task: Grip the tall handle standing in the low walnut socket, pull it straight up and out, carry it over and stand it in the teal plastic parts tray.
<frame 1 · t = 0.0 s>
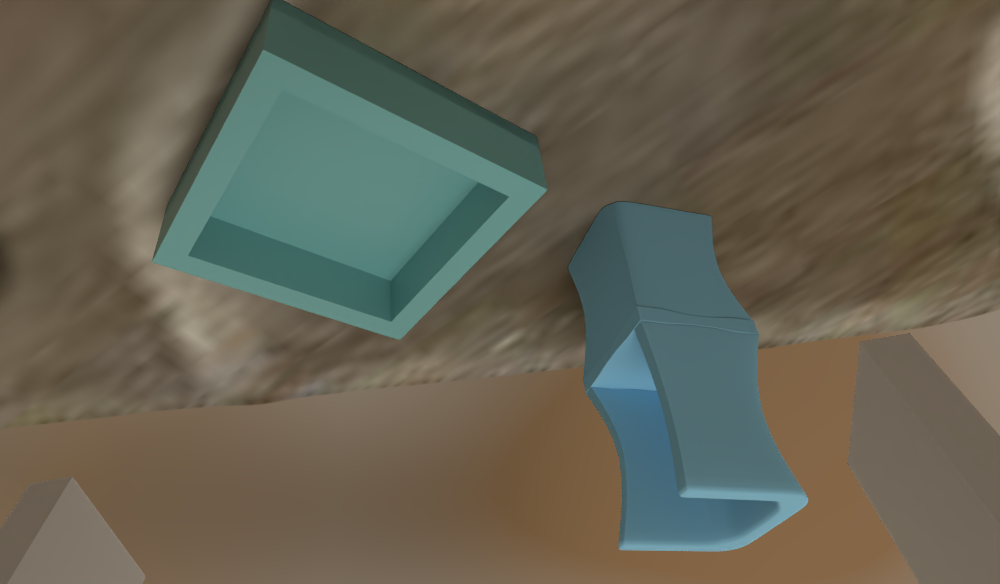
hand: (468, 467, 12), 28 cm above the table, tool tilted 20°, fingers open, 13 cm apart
parts tray: (348, 172, 43), on the table
vase: (634, 244, 51), on the table
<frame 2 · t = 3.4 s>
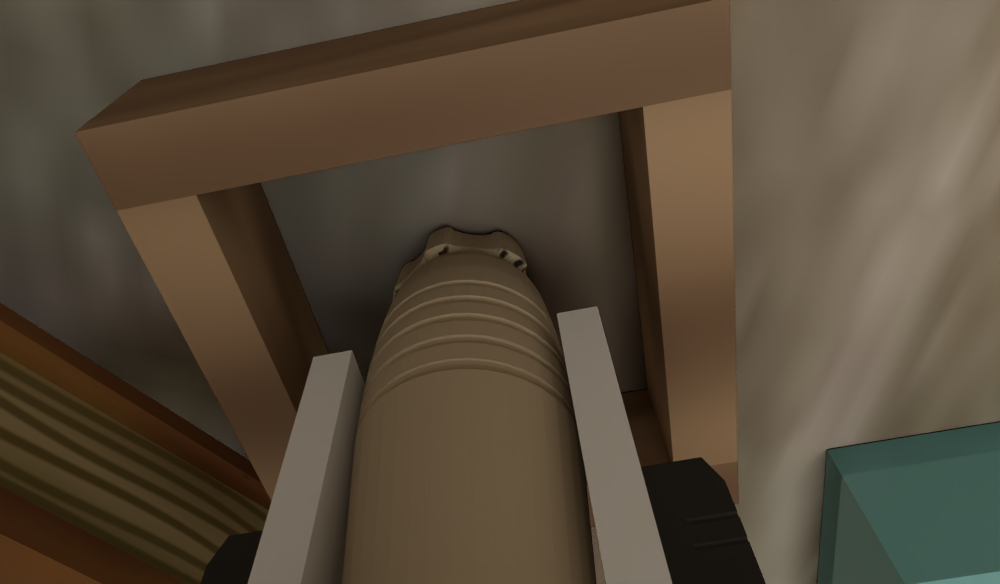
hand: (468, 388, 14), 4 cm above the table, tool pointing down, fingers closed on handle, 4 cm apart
handle: (468, 273, 18), resting in socket, touching gripper
socket: (468, 277, 18), on the table
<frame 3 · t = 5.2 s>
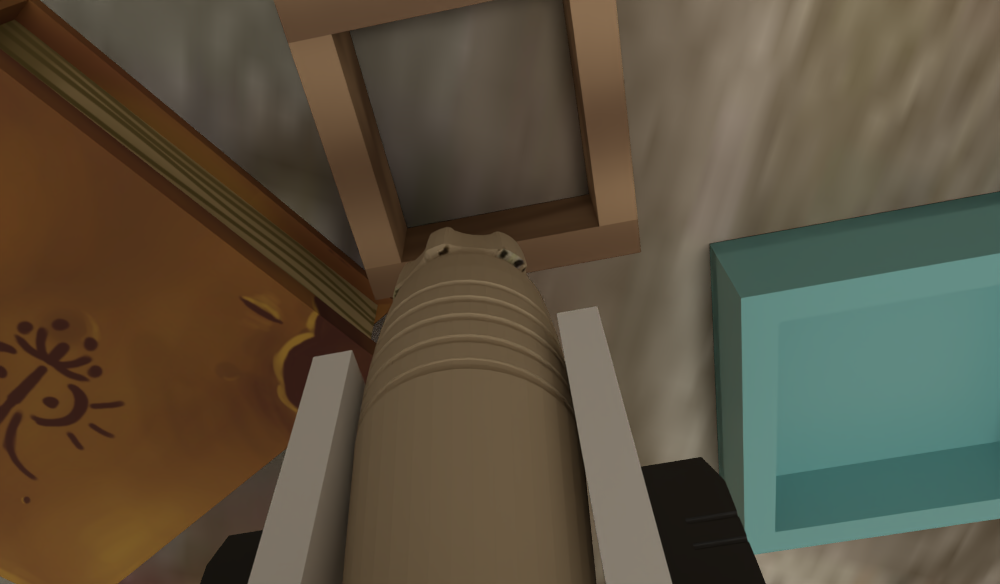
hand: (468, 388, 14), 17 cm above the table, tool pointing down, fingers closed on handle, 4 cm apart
diary: (86, 311, 34), on the table
parts tray: (876, 353, 36), on the table
handle: (468, 273, 18), point 13 cm above the table, touching gripper
socket: (475, 111, 29), on the table
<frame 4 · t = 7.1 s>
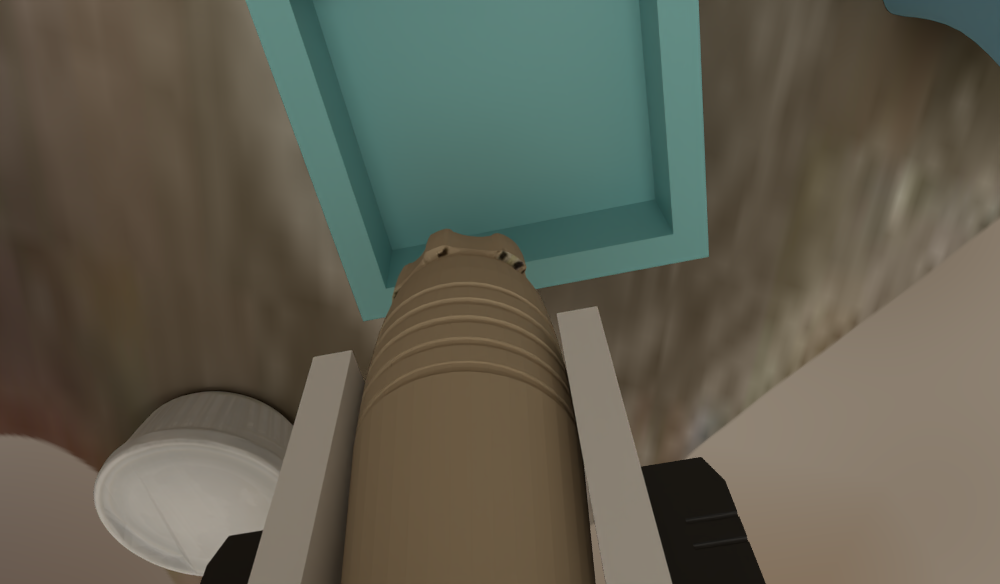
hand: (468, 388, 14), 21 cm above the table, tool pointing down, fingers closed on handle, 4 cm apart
parts tray: (495, 88, 32), on the table
handle: (468, 274, 18), point 17 cm above the table, touching gripper
ramekin: (228, 442, 44), on the table
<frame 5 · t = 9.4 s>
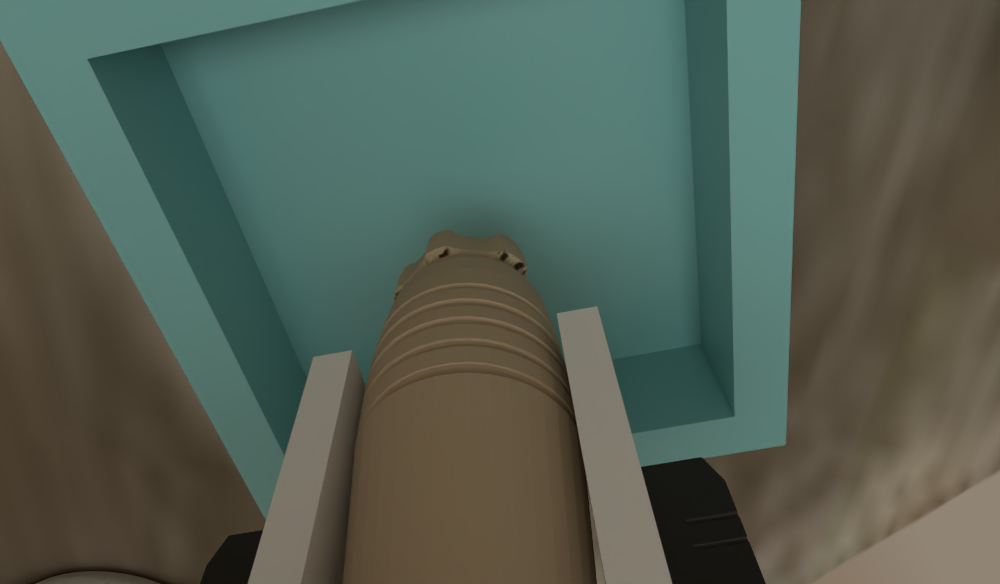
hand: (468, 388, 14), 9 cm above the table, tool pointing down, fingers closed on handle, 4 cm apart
parts tray: (466, 191, 22), on the table
handle: (469, 275, 18), point 5 cm above the table, touching gripper
when the fingers open (7 cm above the table, at t = 10.6 s): handle drops 1 cm, resting on parts tray.
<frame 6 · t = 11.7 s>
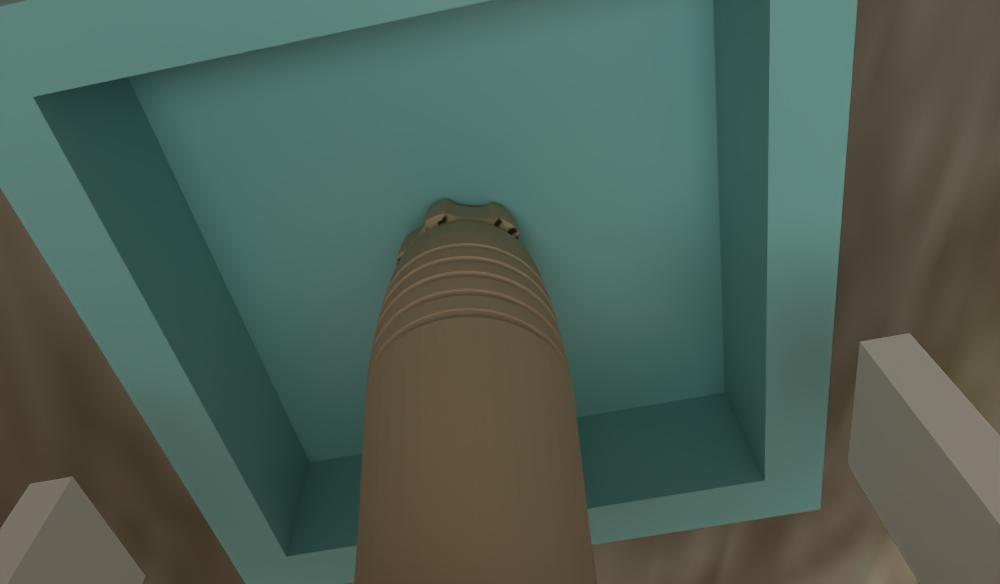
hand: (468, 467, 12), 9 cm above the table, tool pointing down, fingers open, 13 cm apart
parts tray: (468, 229, 20), on the table
handle: (465, 243, 19), point 1 cm above the table, touching parts tray
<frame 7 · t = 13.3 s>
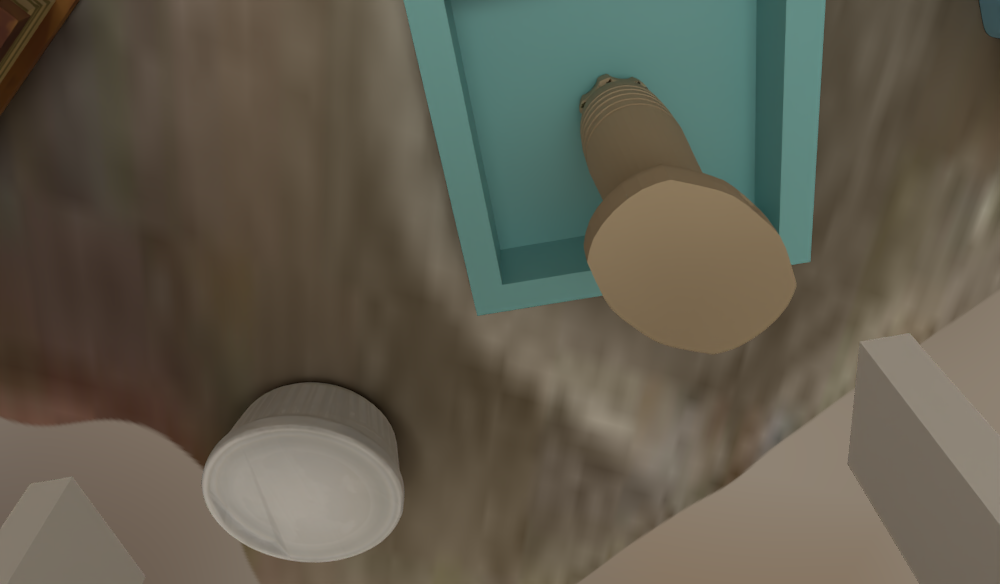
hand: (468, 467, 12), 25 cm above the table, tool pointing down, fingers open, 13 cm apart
parts tray: (610, 98, 34), on the table
handle: (612, 103, 34), point 1 cm above the table, touching parts tray
ramekin: (320, 433, 46), on the table
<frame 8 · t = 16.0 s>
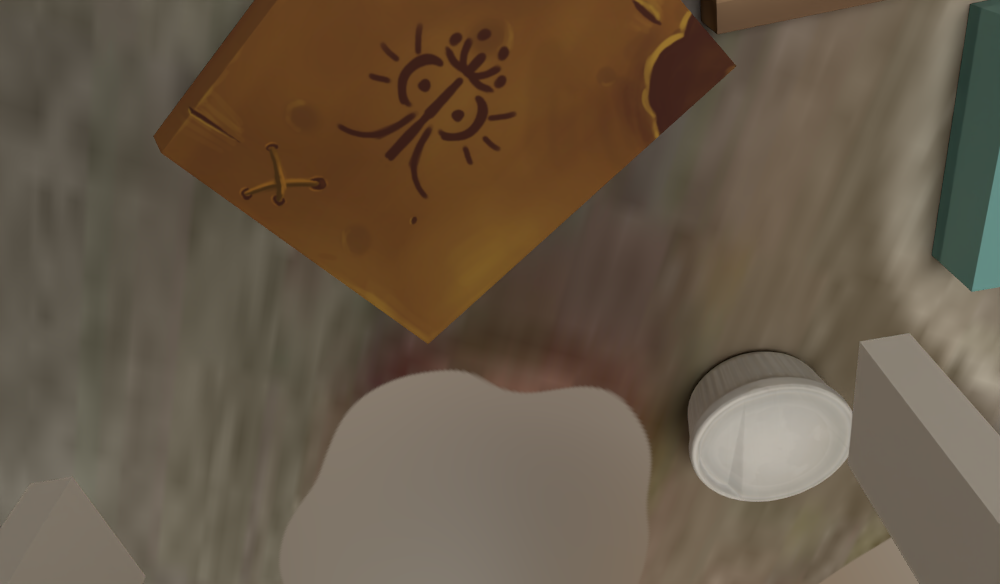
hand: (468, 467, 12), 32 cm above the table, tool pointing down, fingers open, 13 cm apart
diary: (441, 72, 41), on the table
ramekin: (748, 395, 54), on the table
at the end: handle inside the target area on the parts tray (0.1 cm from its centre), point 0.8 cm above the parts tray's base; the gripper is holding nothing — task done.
